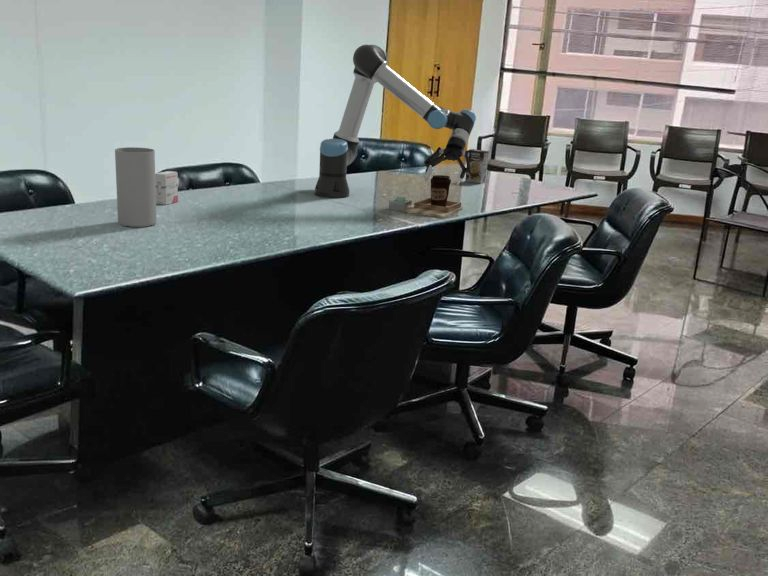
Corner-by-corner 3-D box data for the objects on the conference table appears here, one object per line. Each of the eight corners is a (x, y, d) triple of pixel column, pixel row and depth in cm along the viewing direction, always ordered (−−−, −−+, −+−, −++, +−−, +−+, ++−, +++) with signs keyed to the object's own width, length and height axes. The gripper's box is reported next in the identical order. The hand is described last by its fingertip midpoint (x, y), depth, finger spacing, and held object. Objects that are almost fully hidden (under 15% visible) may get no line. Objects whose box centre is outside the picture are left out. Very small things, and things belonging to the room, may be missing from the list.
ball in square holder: (388, 209, 312) (389, 200, 311) (395, 206, 318) (396, 198, 317) (404, 211, 309) (404, 202, 308) (411, 208, 316) (411, 200, 314)
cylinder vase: (138, 218, 270) (136, 146, 263) (164, 223, 264) (162, 150, 257) (110, 223, 260) (106, 149, 252) (136, 229, 254) (133, 153, 247)
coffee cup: (447, 210, 312) (450, 178, 308) (427, 208, 313) (429, 176, 309) (449, 206, 320) (452, 175, 316) (430, 204, 321) (432, 173, 317)
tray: (401, 211, 308) (402, 204, 307) (422, 203, 328) (423, 196, 327) (443, 218, 301) (444, 210, 300) (462, 209, 321) (463, 202, 320)
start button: (394, 205, 313) (394, 197, 312) (397, 204, 316) (398, 196, 315) (402, 207, 311) (403, 198, 310) (405, 205, 314) (406, 197, 313)
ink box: (168, 200, 303) (167, 170, 299) (178, 201, 301) (178, 171, 298) (154, 203, 295) (153, 173, 291) (165, 205, 293) (164, 174, 290)
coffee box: (464, 181, 392) (467, 149, 387) (470, 180, 397) (473, 148, 393) (480, 183, 388) (484, 151, 383) (486, 182, 393) (489, 150, 388)
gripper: (428, 132, 326) (411, 171, 317) (484, 139, 316) (468, 179, 307) (431, 144, 332) (415, 183, 323) (487, 151, 322) (471, 191, 314)
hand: (441, 181), depth 315 cm, fingers open, 13 cm apart
